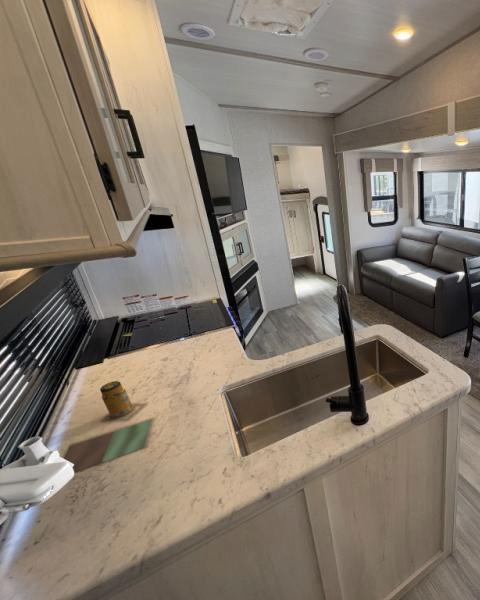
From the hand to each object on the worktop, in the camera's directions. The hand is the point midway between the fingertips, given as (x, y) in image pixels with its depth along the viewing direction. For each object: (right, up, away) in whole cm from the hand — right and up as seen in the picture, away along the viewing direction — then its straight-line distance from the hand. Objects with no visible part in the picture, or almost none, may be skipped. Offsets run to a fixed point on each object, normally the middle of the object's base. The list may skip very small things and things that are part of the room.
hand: (43, 454), depth 67 cm
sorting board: (-11, -11, +26) cm, 31 cm away
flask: (0, -6, +1) cm, 6 cm away
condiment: (-18, -6, +41) cm, 45 cm away
